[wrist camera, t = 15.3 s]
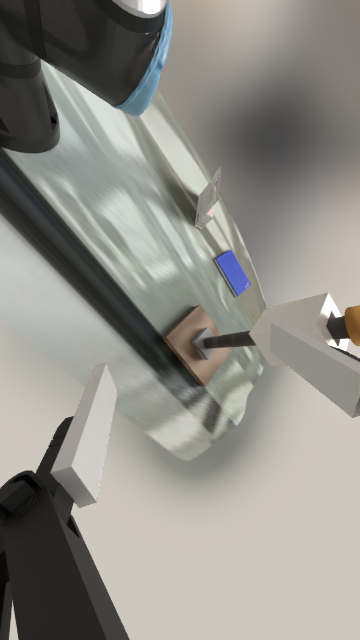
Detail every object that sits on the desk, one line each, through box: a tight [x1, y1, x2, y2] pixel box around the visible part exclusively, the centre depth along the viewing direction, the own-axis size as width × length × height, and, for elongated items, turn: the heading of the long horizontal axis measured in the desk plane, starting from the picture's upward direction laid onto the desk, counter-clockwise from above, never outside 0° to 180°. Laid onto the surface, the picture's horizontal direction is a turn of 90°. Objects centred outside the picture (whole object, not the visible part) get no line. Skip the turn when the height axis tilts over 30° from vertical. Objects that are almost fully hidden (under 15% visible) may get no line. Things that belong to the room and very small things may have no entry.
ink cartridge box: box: [195, 167, 221, 230], centre depth 46 cm, size 2×11×10 cm, turn 173°
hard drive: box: [214, 250, 251, 297], centre depth 52 cm, size 2×8×12 cm
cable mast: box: [162, 305, 360, 387], centre depth 26 cm, size 14×12×36 cm
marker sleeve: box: [249, 293, 349, 366], centre depth 23 cm, size 6×6×8 cm
